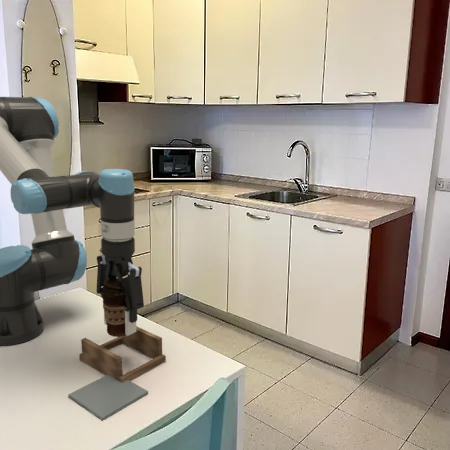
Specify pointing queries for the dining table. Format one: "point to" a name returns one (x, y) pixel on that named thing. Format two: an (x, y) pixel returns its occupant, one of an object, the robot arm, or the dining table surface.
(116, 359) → the rack
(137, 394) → the coaster
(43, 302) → the dining table surface
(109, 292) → the coffee cup
